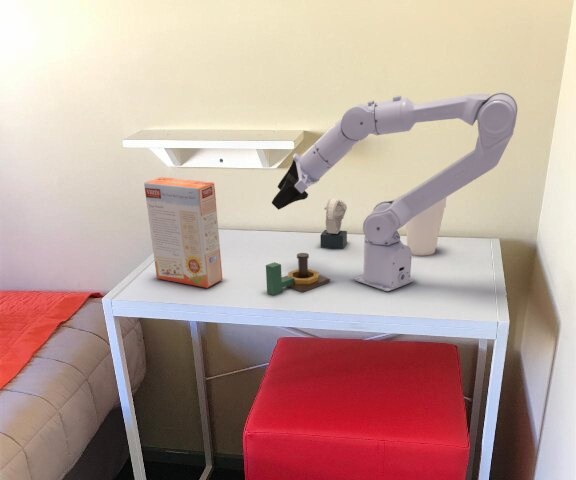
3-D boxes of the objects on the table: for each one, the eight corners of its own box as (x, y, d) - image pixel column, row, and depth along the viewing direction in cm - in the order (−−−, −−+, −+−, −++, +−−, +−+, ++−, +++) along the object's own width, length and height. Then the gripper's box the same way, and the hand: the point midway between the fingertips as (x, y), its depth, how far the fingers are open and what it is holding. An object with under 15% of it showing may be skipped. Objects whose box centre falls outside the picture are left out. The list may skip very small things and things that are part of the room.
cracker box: (224, 280, 143) (215, 181, 132) (207, 289, 138) (197, 188, 128) (173, 270, 149) (161, 175, 139) (155, 279, 145) (142, 181, 134)
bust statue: (348, 241, 164) (349, 196, 158) (341, 251, 157) (341, 204, 152) (326, 239, 165) (326, 195, 160) (318, 249, 159) (318, 203, 153)
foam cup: (442, 258, 151) (447, 200, 144) (400, 257, 152) (404, 200, 146) (440, 245, 159) (445, 190, 152) (401, 244, 160) (404, 189, 154)
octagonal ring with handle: (304, 274, 144) (303, 248, 141) (324, 282, 140) (324, 255, 137) (260, 290, 137) (258, 262, 134) (280, 298, 133) (279, 270, 130)
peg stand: (330, 282, 140) (330, 254, 137) (302, 292, 135) (301, 264, 132) (304, 273, 145) (303, 246, 142) (276, 282, 141) (275, 254, 138)
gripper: (314, 125, 135) (270, 169, 142) (306, 153, 124) (258, 199, 131) (338, 151, 137) (293, 192, 145) (332, 180, 126) (283, 223, 134)
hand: (278, 197), depth 138 cm, fingers open, 7 cm apart
